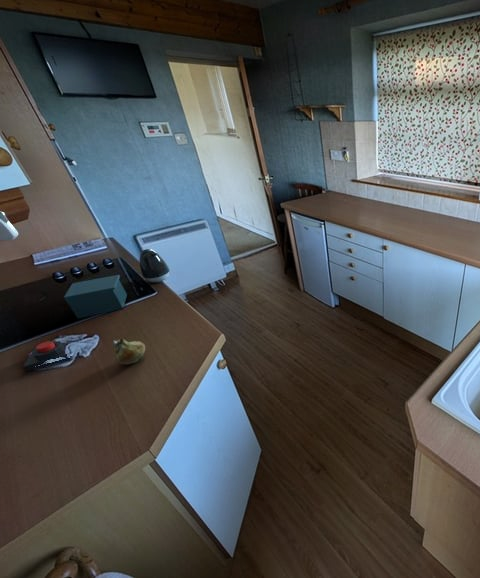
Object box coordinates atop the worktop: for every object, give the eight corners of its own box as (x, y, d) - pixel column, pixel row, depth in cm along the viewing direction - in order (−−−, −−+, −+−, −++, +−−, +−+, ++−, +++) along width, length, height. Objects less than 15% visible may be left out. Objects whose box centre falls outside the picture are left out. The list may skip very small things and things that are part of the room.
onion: (116, 372, 88) (103, 353, 83) (123, 355, 94) (111, 336, 90) (146, 365, 90) (135, 345, 86) (151, 348, 97) (141, 330, 92)
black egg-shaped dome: (157, 287, 130) (142, 256, 122) (140, 282, 133) (125, 252, 125) (177, 276, 138) (165, 247, 130) (162, 273, 141) (149, 243, 133)
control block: (27, 371, 88) (18, 362, 85) (37, 355, 93) (29, 346, 91) (71, 359, 92) (64, 350, 90) (78, 344, 98) (71, 335, 96)
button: (37, 354, 89) (34, 350, 88) (41, 347, 91) (38, 343, 90) (53, 350, 90) (50, 346, 89) (57, 343, 93) (54, 339, 92)
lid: (120, 276, 120) (119, 274, 120) (115, 289, 112) (114, 287, 111) (73, 284, 114) (72, 283, 113) (64, 299, 105) (63, 297, 105)
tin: (127, 294, 124) (117, 276, 120) (123, 308, 116) (112, 289, 111) (85, 303, 118) (73, 285, 114) (77, 318, 110) (64, 299, 105)
